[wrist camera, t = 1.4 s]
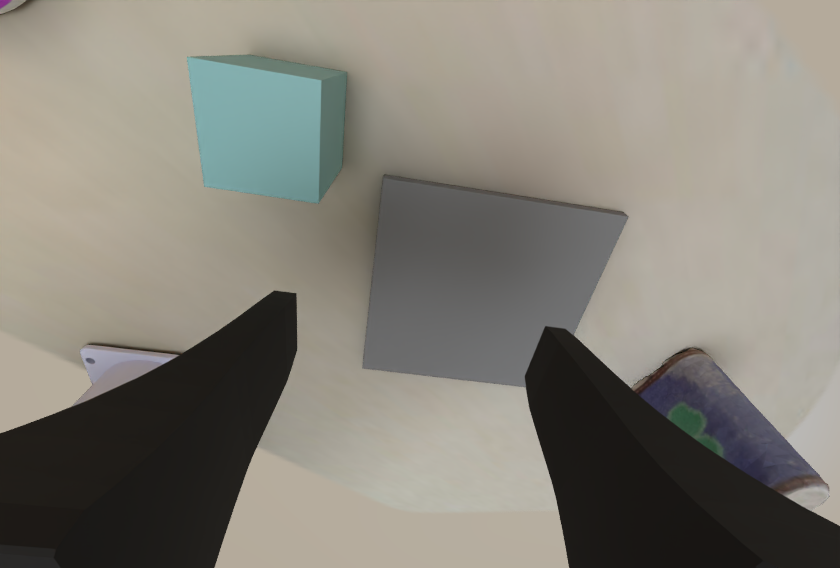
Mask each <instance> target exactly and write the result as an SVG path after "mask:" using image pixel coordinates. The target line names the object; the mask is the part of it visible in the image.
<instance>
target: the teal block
mask: <svg viewBox="0 0 840 568" xmlns="http://www.w3.org/2000/svg"><path fill="white" fill-rule="evenodd" d="M187 62H188V69H189V77H190V84H191V91H192V99H193V106H194V114H195V121H196V129H197V136H198V144H199V151H200V159H201V166H202V173H203V181H204V187H210V188H217V189H224V190H230V191H237V192H244V193H251V194H257V195H264V196H271V197H277V198H284V199H291V200H298V201H304V202H311V203H318V204H319V202H320V201H321V199H322V198H323V196H324V195H325V193H326V191H327V190H328V188H329V187H330V185H331V184H332V182H333V181H334V179H335V178H336V176H337V175H338V173H339V172H340V170H341V168H342V159H343V140H344V121H345V102H346V83H347V72H343V71H338V70H332V69H327V68H321V67H315V66H310V65H304V64H298V63H293V62H287V61H282V60H276V59H270V58H265V57H259V56H253V55H228V56H198V57H187Z"/></svg>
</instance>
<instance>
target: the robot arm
mask: <svg viewBox="0 0 840 568" xmlns="http://www.w3.org/2000/svg"><path fill="white" fill-rule="evenodd" d="M296 351H297V300H296V293H289V292H281V291H273V292H272V293H270V294H269V295H267V296H266V297H265V298H263V299H262V300H260V301H259V302H258V303H256V304H255V305H254V306H252V307H251V308H250V309H248V310H247V311H246V312H244V313H243V314H241V315H240V316H239V317H237V318H236V319H234V320H233V321H232V322H230V323H229V324H227V325H226V326H224V327H223V328H222V329H220V330H219V331H217V332H216V333H214V334H213V335H211V336H209V337H208V338H206V339H205V340H203V341H202V342H200V343H198V344H197V345H195V346H194V347H192V348H191V349H189V350H187V351H186V352H184V353H182V354H181V355H175V354H166V353H157V352H149V351H140V350H131V349H122V348H113V347H105V346H96V345H86V346H84V347H83V348H82V349H81V350H80V354H81V357H82V359H83V362H84V364H85V367H86V370H87V372H88V375H89V377H90V380H91V382H92V386H91V387H90V388H89V389H88V390H87V391H86V392H85V393H84V394H83V396H81V398H79V399H78V401H77V402H76V403H75V404H74V405H73V406H72V407H70V408H67V409H65V410H62V411H60V412H57V413H55V414H53V415H50V416H47V417H44V418H42V419H39V420H37V421H34V422H31V423H28V424H26V425H23V426H20V427H17V428H15V429H12V430H9V431H6V432H3V433H0V568H214V567H215V564H216V561H217V558H218V555H219V551H220V548H221V545H222V542H223V539H224V536H225V533H226V530H227V527H228V524H229V521H230V518H231V515H232V512H233V509H234V506H235V503H236V500H237V497H238V494H239V492H240V488H241V486H242V483H243V480H244V477H245V474H246V472H247V469H248V466H249V464H250V462H251V459H252V456H253V454H254V452H255V450H256V448H257V445H258V443H259V441H260V439H261V437H262V435H263V432H264V430H265V428H266V426H267V424H268V422H269V420H270V417H271V415H272V413H273V411H274V409H275V407H276V404H277V402H278V400H279V398H280V396H281V393H282V391H283V389H284V387H285V385H286V382H287V380H288V377H289V374H290V371H291V368H292V365H293V361H294V358H295V355H296ZM525 383H526V390H527V397H528V402H529V408H530V412H531V415H532V418H533V422H534V425H535V429H536V432H537V435H538V438H539V442H540V445H541V448H542V451H543V455H544V458H545V461H546V464H547V468H548V471H549V474H550V477H551V481H552V484H553V488H554V492H555V496H556V500H557V505H558V510H559V515H560V520H561V524H562V530H563V535H564V540H565V546H566V552H567V558H568V564H569V568H840V526H839V525H837V524H835V523H833V522H831V521H829V520H827V519H825V518H823V517H821V516H819V515H817V514H816V513H814V512H812V511H810V510H808V509H806V508H805V507H803V506H801V505H799V504H798V503H796V502H794V501H792V500H791V499H789V498H787V497H785V496H784V495H782V494H780V493H778V492H777V491H775V490H773V489H772V488H770V487H768V486H766V485H765V484H763V483H761V482H760V481H758V480H757V479H755V478H753V477H752V476H750V475H748V474H747V473H745V472H744V471H742V470H740V469H739V468H737V467H736V466H734V465H733V464H731V463H730V462H728V461H727V460H725V459H724V458H722V457H721V456H719V455H717V454H716V453H714V452H713V451H711V450H710V449H708V448H707V447H706V446H704V445H703V444H701V443H700V442H698V441H697V440H696V439H694V438H693V437H691V436H690V435H689V434H687V433H686V432H685V431H683V430H682V429H681V428H679V427H678V426H677V425H675V424H674V423H673V422H671V421H670V420H669V419H667V418H666V417H665V416H663V415H662V414H661V413H660V412H658V411H657V410H656V409H655V408H654V407H652V406H651V405H650V404H649V403H648V402H646V401H645V400H644V399H643V398H642V397H640V396H639V395H638V394H637V393H636V392H635V391H633V390H632V389H631V388H630V387H629V386H628V385H627V384H625V383H624V382H623V381H622V380H621V379H620V378H619V377H618V376H617V375H615V374H614V373H613V372H612V371H611V370H610V369H609V368H608V367H607V366H606V365H605V364H604V363H603V362H601V361H600V360H599V359H598V358H597V357H596V356H595V355H594V354H593V353H592V352H591V351H590V350H589V349H588V348H587V347H586V346H584V345H583V344H582V343H581V342H580V341H579V340H578V339H577V338H576V337H575V336H574V335H572V334H571V333H570V332H569V331H568V330H566V329H564V328H557V327H549V326H545V328H544V330H543V332H542V335H541V337H540V340H539V342H538V345H537V347H536V350H535V352H534V354H533V357H532V359H531V362H530V364H529V367H528V369H527V371H526V374H525Z"/></svg>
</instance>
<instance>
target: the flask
mask: <svg viewBox="0 0 840 568" xmlns="http://www.w3.org/2000/svg"><path fill="white" fill-rule="evenodd" d="M663 365H664V366H663V367H661V368H660V369H658V370H657V371H655V372H654V373H653V374H650V376H649V377H647V376H646V377H645V378H644V379H643V380H641V381H638V383H637V384H636V385H634V386H633V388H631V389H632V390H633V391H635V392H636V393H637V394H638V395H639V396H640V397H642V398H643V399H644V400H645V401H646V402H648V403H649V404H650V405H651V406H652V407H654V408H655V409H656V410H657V411H658V412H660V413H661V414H662V415H663V416H665V417H666V418H667V419H669V420H670V421H671V422H673V423H674V424H675V425H677V426H678V427H679V428H681V429H682V430H683V431H685V432H686V433H687V434H689V435H690V436H691V437H693V438H694V439H696V440H697V441H698V442H700V443H701V444H703V445H704V446H706V447H707V448H708V449H710V450H711V451H713V452H714V453H716V454H717V455H719V456H721V457H722V458H724V459H725V460H727V461H728V462H730V463H731V464H733V465H734V466H736V467H737V468H739V469H740V470H742V471H744V472H745V473H747V474H748V475H750V476H752V477H753V478H755V479H757V480H758V481H760V482H761V483H763V484H765V485H766V486H768V487H770V488H772V489H773V490H775V491H777V492H778V493H780V494H782V495H784V496H785V497H787V498H789V499H791V500H792V501H794V502H796V503H798V504H799V505H801V506H803V507H805V508H806V509H808V510H810V511H812V510H813V509H815V508H816V507H818V506H820V505H821V504H822V503H824V502H825V501H826V500H827V499H828V498H829V486H828V484H826V483H825V482H824V481H823V480H822V478H821V477H820V475H819V474H818V473H817V472H816V471H815V470H814V469H813V468H812V467H811V466H810V465H809V464H808V463H807V462H806V461H805V460H804V459H803V458H802V457H801V456H800V455H799V454H798V453H797V452H796V451H795V449H794V448H793V447H792V446H791V445H790V444H789V443H788V441H787V440H786V439H785V438H784V437H783V436H782V435H781V434H780V433H779V432H778V431H777V430H776V429H775V427H774V426H773V425H772V424H771V423H770V422H769V421H768V420H767V419H766V418H765V417H764V416H763V415H762V414H761V412H760V411H759V410H758V409H757V408H756V407H755V406H754V405H753V404H752V403H751V402H750V401H749V400H748V398H747V397H746V396H745V395H744V394H743V393H742V392H741V391H740V389H739V388H738V387H737V386H736V385H735V384H734V383H733V382H732V381H731V380H730V379H729V378H728V376H727V375H726V374H725V373H724V372H723V371H722V370H721V369H720V368H719V367H718V366H717V365H716V364H715V362H714V361H713V360H712V359H711V357H709V356H708V355H707V354H706V353H704V352H702V351H699V350H696V349H694V348H690V349H688V351H686V352H682V353H680V354H677V355H674V356H673V357H672V358H670V359H668V360H666V361H665V362H663Z"/></svg>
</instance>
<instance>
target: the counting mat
mask: <svg viewBox="0 0 840 568" xmlns="http://www.w3.org/2000/svg"><path fill="white" fill-rule="evenodd" d="M627 219H628V216H627V215H626V214H625V213H623V212H619V211H612V210H606V209H600V208H593V207H587V206H580V205H574V204H568V203H561V202H555V201H549V200H542V199H536V198H530V197H523V196H517V195H511V194H504V193H498V192H492V191H485V190H479V189H473V188H466V187H460V186H454V185H447V184H441V183H434V182H428V181H422V180H415V179H409V178H403V177H396V176H390V175H384V177H383V184H382V193H381V202H380V212H379V221H378V230H377V239H376V248H375V257H374V266H373V276H372V285H371V294H370V303H369V312H368V321H367V331H366V340H365V349H364V358H363V367H362V368H364V369H372V370H381V371H390V372H398V373H407V374H416V375H424V376H433V377H441V378H450V379H459V380H467V381H476V382H485V383H493V384H502V385H511V386H519V387H526V383H525V374H526V371H527V369H528V367H529V364H530V362H531V359H532V357H533V354H534V352H535V350H536V347H537V345H538V342H539V340H540V337H541V335H542V332H543V330H544V328H545V326H549V327H557V328H564V329H566V330H568V331H569V332H570V333H571V334H572V335H574V333H575V331H576V328H577V326H578V324H579V322H580V320H581V318H582V316H583V313H584V311H585V309H586V307H587V305H588V303H589V301H590V298H591V296H592V294H593V292H594V290H595V288H596V286H597V283H598V281H599V279H600V277H601V275H602V273H603V270H604V268H605V266H606V264H607V262H608V260H609V258H610V255H611V253H612V251H613V249H614V247H615V245H616V243H617V240H618V238H619V236H620V234H621V232H622V230H623V228H624V225H625V223H626V221H627Z"/></svg>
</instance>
